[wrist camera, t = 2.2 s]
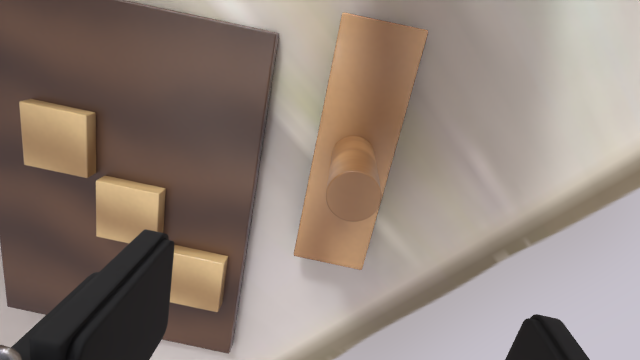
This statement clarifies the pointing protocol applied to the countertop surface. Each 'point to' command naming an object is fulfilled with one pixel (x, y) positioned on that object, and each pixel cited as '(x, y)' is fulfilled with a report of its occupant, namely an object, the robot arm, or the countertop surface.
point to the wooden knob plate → (357, 137)
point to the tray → (132, 142)
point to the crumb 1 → (58, 137)
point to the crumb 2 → (127, 208)
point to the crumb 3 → (198, 278)
